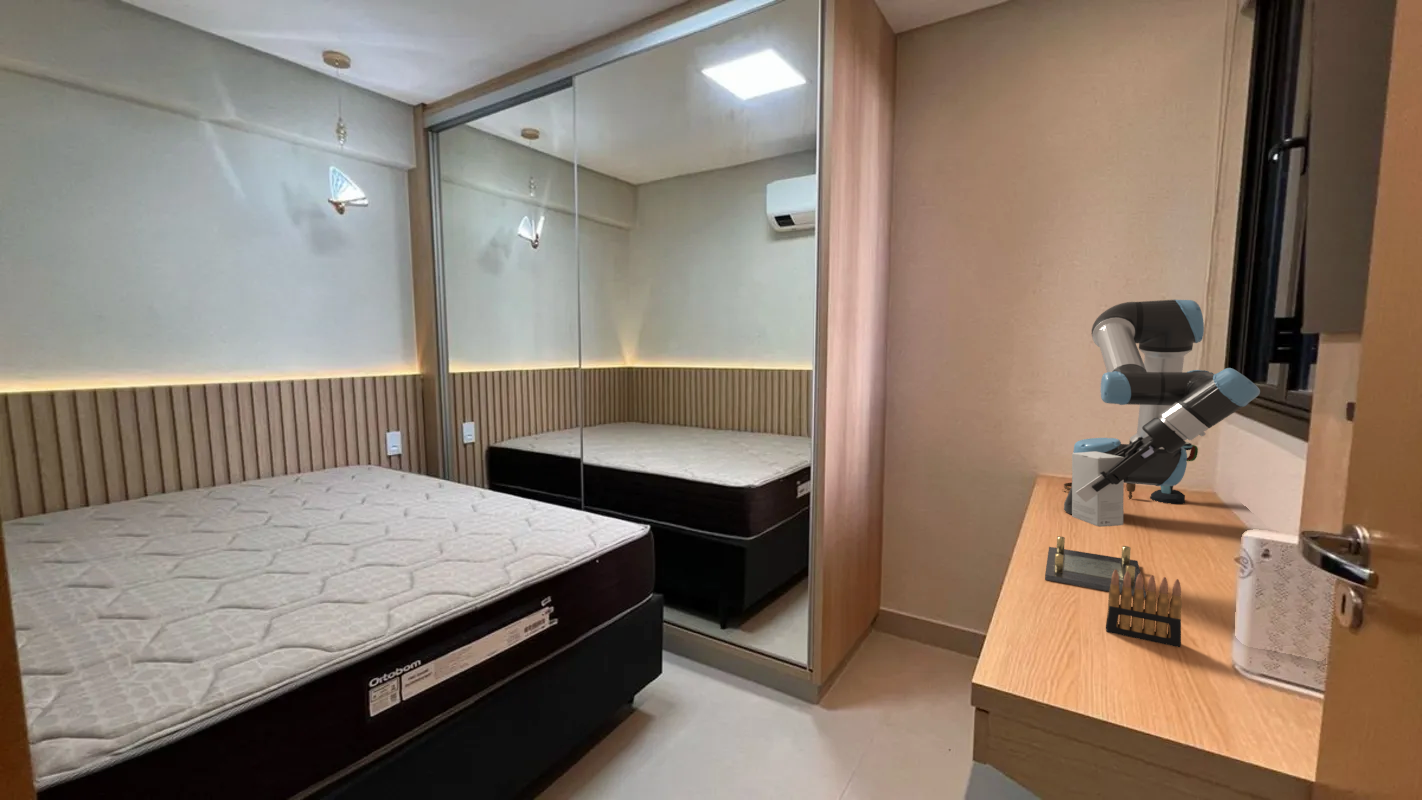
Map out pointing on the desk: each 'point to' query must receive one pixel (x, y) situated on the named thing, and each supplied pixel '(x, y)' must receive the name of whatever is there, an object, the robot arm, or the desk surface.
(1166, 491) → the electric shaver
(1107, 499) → the skincare box
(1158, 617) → the ammunition clip
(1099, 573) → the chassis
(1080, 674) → the desk surface
